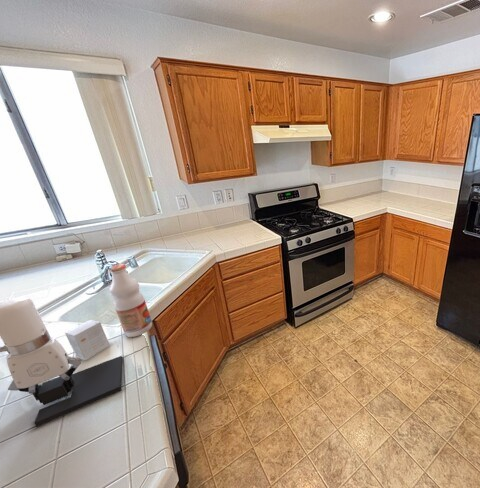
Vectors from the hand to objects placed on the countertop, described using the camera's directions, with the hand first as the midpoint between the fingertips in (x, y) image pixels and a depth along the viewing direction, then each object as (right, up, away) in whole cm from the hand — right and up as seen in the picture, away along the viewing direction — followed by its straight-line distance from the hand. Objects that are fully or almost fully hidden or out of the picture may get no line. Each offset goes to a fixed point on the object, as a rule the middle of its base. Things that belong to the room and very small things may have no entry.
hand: (57, 393), depth 75 cm
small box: (-7, +4, +19) cm, 21 cm away
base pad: (+5, -1, +4) cm, 6 cm away
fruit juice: (+2, +8, +30) cm, 31 cm away
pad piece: (0, 0, 0) cm, 0 cm away
